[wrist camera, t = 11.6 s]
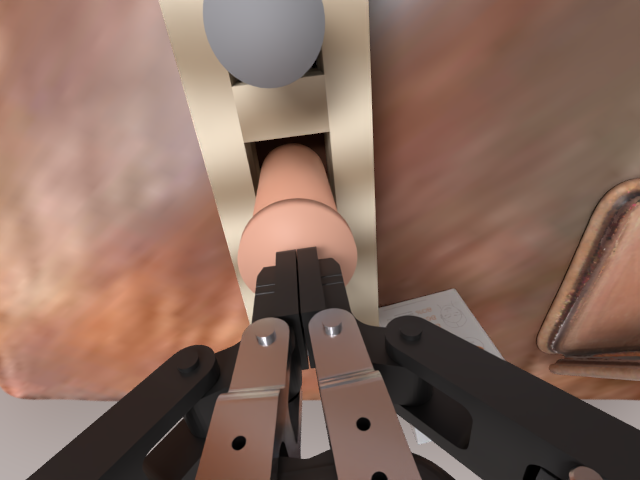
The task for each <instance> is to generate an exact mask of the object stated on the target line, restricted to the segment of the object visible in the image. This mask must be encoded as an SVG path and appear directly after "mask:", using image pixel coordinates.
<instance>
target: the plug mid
mask: <svg viewBox="0 0 640 480" xmlns="http://www.w3.org/2000/svg"><path fill="white" fill-rule="evenodd" d="M315 246H316V248H317V255H318V259H325V258H333V259H334V260H335V261H336V262H337V263H339V264H340V268H341V272H342V276H343V280H344V284H345V286H346V285H347V284H348V283H349V281H350V280H351V278H352V276H353V274H354V272H355V269H356V265H357V247H356V244H355V241H354V238H353V235H352V232H351V229H350V227H349V225H348V224H347V222H346V221H345V219H344V218H343V217H342V216H341V215H340V214H339V213H338V211H337V208H336V205H335V202H334V198H333V195H332V192H331V188H330V185H329V182H328V178H327V175H326V172H325V168H324V165H323V163H322V160H321V159H320V157H319V156H318V155H317V153H316V152H314V151H313V150H312V149H310V148H309V147H307V146H304V145H302V144H296V143H289V144H284V145H281V146H278V147H276V148H275V149H273V150H272V151H271V152H270V153H269V154H268V155H267V156H266V158H265V159H264V161H263V164H262V167H261V172H260V178H259V184H258V189H257V195H256V200H255V206H254V212H253V217H252V218H251V219H250V220H249V222H248V223H247V225H246V226H245V229H244V231H243V233H242V236H241V240H240V244H239V249H238V256H237V259H238V268H239V272H240V274H241V277H242V279H243V281H244V282H245V284H246V285H247V286H248V288H249V289H250V290H251V291H252V292H253V293H255V289H256V280H257V276H258V274H259V273H260V272H261V270H262V269H263V267H269V266H275V264H276V252H280V251H287V250H294V249H296V254H297V249H301V248H308V247H315ZM297 259H298V258H297Z"/></svg>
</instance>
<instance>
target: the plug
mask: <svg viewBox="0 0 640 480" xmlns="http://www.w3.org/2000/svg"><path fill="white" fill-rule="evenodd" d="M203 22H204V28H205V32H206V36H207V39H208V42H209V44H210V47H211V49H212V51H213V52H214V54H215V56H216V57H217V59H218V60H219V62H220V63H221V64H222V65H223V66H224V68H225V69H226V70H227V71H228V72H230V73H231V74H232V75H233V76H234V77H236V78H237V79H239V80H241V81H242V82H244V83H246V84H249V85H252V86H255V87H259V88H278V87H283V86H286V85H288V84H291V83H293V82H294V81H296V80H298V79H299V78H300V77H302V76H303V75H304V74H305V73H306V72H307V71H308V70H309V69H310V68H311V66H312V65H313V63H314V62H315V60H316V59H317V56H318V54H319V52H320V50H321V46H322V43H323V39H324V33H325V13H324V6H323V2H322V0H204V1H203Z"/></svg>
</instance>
